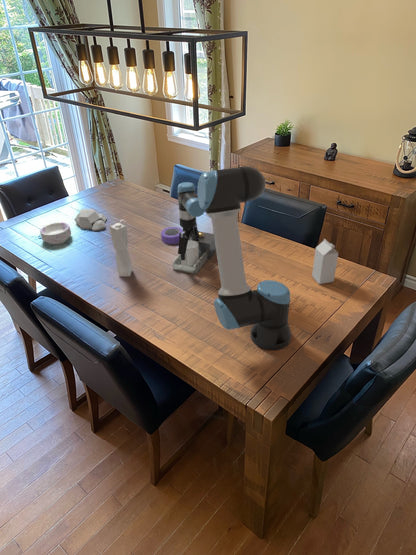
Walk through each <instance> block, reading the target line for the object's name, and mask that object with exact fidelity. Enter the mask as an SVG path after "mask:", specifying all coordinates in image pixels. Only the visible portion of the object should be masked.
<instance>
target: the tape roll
mask: <svg viewBox="0 0 416 555" xmlns="http://www.w3.org/2000/svg"><path fill="white" fill-rule="evenodd" d="M182 232H183V228H182V227H179V226H169V227H168V226H167V227H166V228H164V229H162V230H161V232H160V237H161V242H163V244H167V245H176V244H179V238H180V237H179V233H182Z"/></svg>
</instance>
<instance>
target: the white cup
mask: <svg viewBox="0 0 416 555" xmlns="http://www.w3.org/2000/svg"><path fill="white" fill-rule="evenodd" d="M186 253H187V265H188V266H193V265H194V264H195V263H196V262H197V261H198V257H199V243H198V242H196V241H192V240H190V241H188V244H187V249H186Z"/></svg>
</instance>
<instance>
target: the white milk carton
mask: <svg viewBox="0 0 416 555" xmlns="http://www.w3.org/2000/svg"><path fill="white" fill-rule="evenodd" d="M335 247H336V246H335V245H334V244H333V243H331V242H329V241H328V240H327V239H326V238H323V240H322V242H320V243H319V244H318V245H317V246H316V247H315V251H314V260H313V266H312V274H311V275H312V278H313V279H314V280H315V281H316V283H317V284H319V285H323V284H328V283H334V281H335V274H336V270H337V263H338V258H339V252H338V251H337V250H336V249H335Z"/></svg>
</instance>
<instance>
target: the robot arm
mask: <svg viewBox="0 0 416 555" xmlns="http://www.w3.org/2000/svg"><path fill="white" fill-rule="evenodd" d="M265 189H266V179H265V176H264V175H263V173H262V172H261V171H259V169H256V168H255V167H251V166H248V165H247V166H246V165H244V166H237V167H229V168H222V169H213V170H210V171H206V172H203V173H202V174H201V175H200V177H199V179H198V182H197V192H196V186H195V184H194V183H192V182H187V181H186V182H181V183H179V184H178V185H177V198H178V200H177V201H178V216H179V217H178V218H179V226H180V228H181V229H182V230H183V232H182V233H179V237H180V238H179V243H178V249H177V255H178V254H181V265H183V266H187V253H186V249H187V244H188V240H189V239H190V237H191V238H192V240H193V241H196V242H197V241H198V242H199V233H198V231H199V229H198V224H197V223H198V222H197V218H198V217H201V216H202V215H204V214H206V215H207V216H208V217H209V218H210V219H211V224H212V231H213V234H214V239H215V246H216V253H215V254H216V258H217V264H218V265H217V266H218V271H219V279H220V280H219V281H220V285H221V286H220V289H218V291H217V295H218V297H216V298H215V299H214V301H213V306H214V311H215V313H216V316H217V318H218V321H219V322H220V324H221V326H222V327H223V328H224V329H225V330H227V331H228V330H229V331H230V330H236V329H238V330H239V329H240V328H244V327H248V326H251V325H252V326H251V329H250V339H251V341H252V343H253V344H254V345H255V346H257V347H258V348H260V349H263V350H266V351H279V350H282V349H284V348H286V347H287V346H288V345H289V344H290V342H291V340H292V338H291V337H292V330H291V328H290V325H289V322H288V321H289V311H290V303H291V292H290V289H289V288H288V286H286V284H284V283H282V282H279V281H277V280H271V279H270V280H269V279H268V280H263V281H260V282H259V283H258V284H257V286H256V289H254V290H252V287H251V286H250V285H249V284H247V280H246V279H247V278H246V272H245V266H244V259H243V258H244V257H243V250H242V242H241V235H240V229H239V221H238V213H239V212H240V210H241V203H246V202H251V201H254V200H256V199H258V198H259V197H260V196H262V194H264V192H265ZM196 235H197V236H196ZM186 237H188V238H186Z"/></svg>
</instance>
